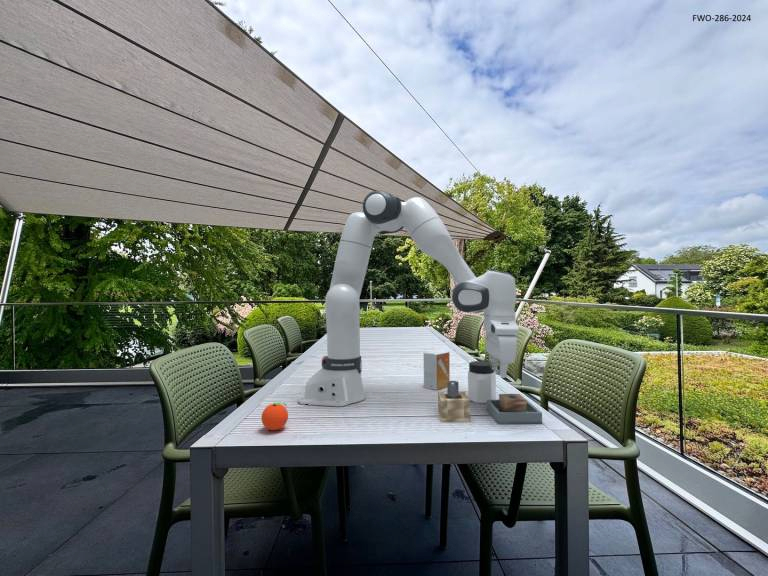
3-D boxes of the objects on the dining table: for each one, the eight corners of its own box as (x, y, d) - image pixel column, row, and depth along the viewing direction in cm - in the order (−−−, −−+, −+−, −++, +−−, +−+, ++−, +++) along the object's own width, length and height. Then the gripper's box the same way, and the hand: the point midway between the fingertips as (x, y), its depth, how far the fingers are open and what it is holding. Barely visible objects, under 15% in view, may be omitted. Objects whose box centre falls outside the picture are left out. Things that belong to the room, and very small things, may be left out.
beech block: (441, 422, 105) (441, 400, 105) (438, 412, 113) (437, 392, 113) (470, 421, 104) (470, 400, 104) (464, 412, 112) (464, 392, 112)
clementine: (278, 421, 107) (277, 396, 107) (296, 426, 103) (296, 400, 103) (255, 431, 100) (255, 405, 100) (274, 436, 96) (274, 409, 96)
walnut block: (505, 418, 105) (504, 399, 105) (499, 410, 111) (498, 393, 111) (527, 417, 105) (526, 399, 105) (519, 410, 111) (519, 393, 111)
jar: (501, 401, 122) (500, 364, 122) (481, 405, 118) (481, 367, 118) (482, 394, 130) (482, 359, 130) (463, 397, 127) (463, 362, 126)
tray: (497, 424, 102) (497, 413, 102) (486, 409, 114) (486, 399, 114) (542, 423, 102) (542, 412, 102) (526, 409, 114) (526, 399, 114)
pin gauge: (450, 415, 107) (449, 384, 106) (446, 411, 110) (445, 381, 109) (461, 414, 107) (460, 383, 107) (456, 410, 111) (455, 380, 110)
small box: (437, 390, 136) (436, 354, 135) (423, 387, 140) (422, 352, 140) (450, 386, 141) (449, 351, 141) (436, 383, 146) (436, 349, 146)
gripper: (480, 321, 121) (479, 364, 121) (497, 329, 100) (496, 381, 100) (500, 322, 120) (499, 365, 120) (521, 329, 100) (520, 381, 100)
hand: (498, 372), depth 110 cm, fingers open, 8 cm apart
